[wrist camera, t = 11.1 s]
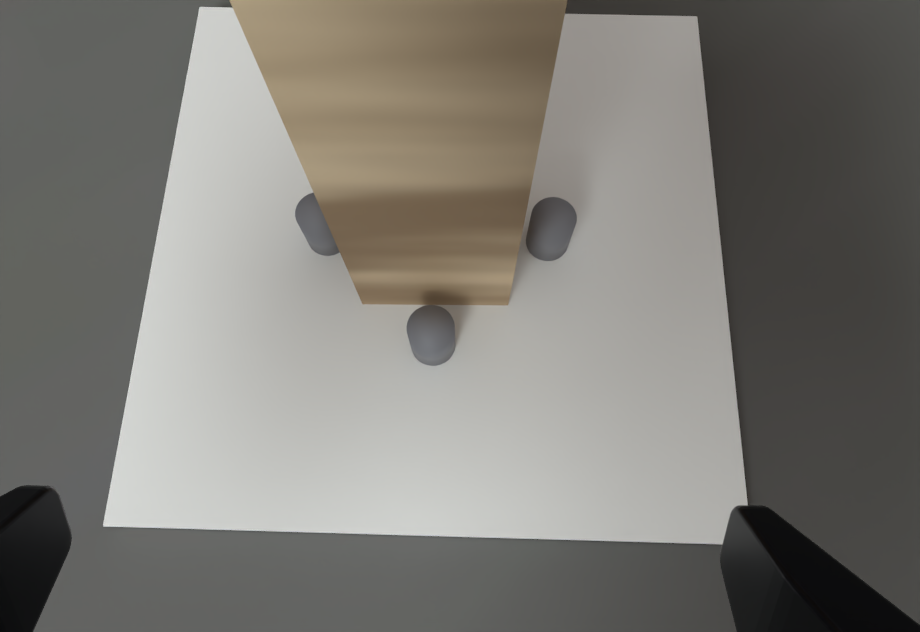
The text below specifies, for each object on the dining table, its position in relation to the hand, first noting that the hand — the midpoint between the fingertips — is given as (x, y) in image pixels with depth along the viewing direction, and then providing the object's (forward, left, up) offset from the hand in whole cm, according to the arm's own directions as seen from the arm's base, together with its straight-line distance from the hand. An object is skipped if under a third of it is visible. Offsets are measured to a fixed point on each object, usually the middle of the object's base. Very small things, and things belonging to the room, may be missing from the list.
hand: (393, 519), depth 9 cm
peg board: (+7, -3, -9) cm, 12 cm away
